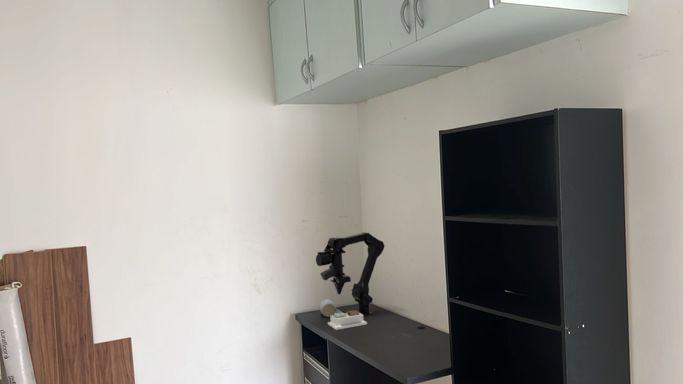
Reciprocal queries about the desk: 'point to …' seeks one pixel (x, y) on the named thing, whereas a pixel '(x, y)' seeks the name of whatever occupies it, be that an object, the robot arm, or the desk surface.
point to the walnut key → (352, 313)
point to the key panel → (346, 321)
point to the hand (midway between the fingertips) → (339, 294)
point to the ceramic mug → (328, 308)
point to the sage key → (339, 315)
